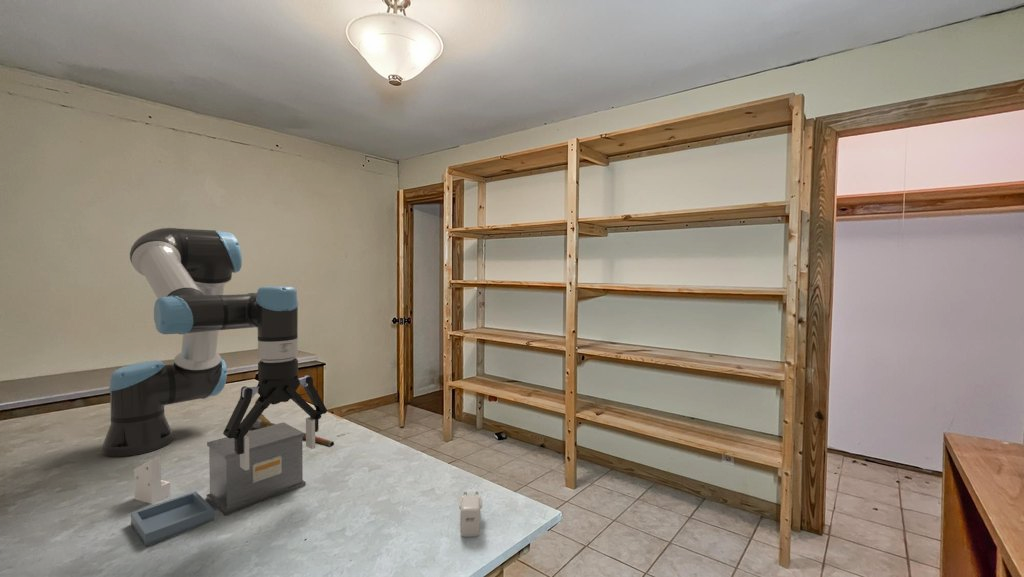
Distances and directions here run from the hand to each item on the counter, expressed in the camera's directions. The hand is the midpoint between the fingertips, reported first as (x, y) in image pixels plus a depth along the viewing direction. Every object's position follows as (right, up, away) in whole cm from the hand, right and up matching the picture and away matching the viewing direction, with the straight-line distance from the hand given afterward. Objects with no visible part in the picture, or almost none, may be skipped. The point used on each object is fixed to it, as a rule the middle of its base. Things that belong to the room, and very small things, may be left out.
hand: (279, 457), depth 94 cm
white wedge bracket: (-31, -11, +4) cm, 33 cm away
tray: (-19, -11, -5) cm, 23 cm away
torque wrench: (-19, -10, +41) cm, 46 cm away
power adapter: (+41, -13, -3) cm, 43 cm away
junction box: (-9, -11, +8) cm, 16 cm away
